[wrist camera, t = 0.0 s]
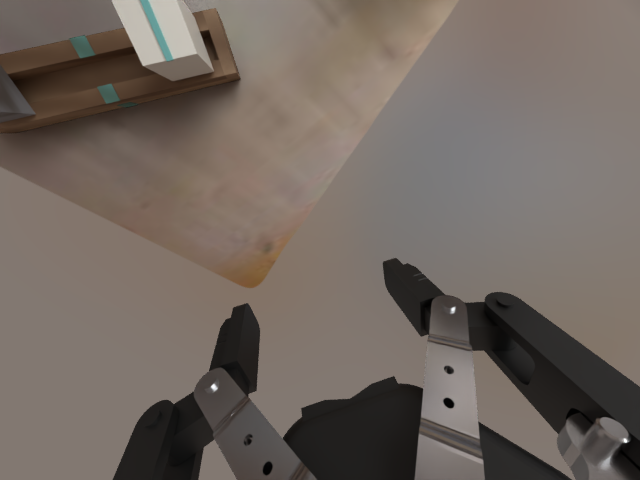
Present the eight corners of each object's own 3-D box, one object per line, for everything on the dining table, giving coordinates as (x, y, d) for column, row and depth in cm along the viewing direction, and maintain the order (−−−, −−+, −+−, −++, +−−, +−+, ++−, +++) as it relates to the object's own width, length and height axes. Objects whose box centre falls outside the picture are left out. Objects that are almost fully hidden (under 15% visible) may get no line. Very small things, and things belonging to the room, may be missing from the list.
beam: (-28, 77, 27) (-136, 57, 20) (222, 22, 29) (205, -14, 22) (16, 133, 30) (-65, 134, 22) (240, 80, 32) (231, 64, 24)
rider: (157, 33, 26) (104, -12, 18) (199, 24, 27) (166, -25, 18) (179, 85, 29) (142, 66, 21) (218, 76, 29) (196, 54, 21)
